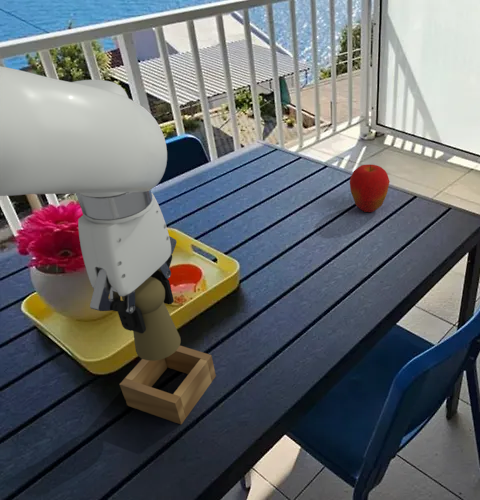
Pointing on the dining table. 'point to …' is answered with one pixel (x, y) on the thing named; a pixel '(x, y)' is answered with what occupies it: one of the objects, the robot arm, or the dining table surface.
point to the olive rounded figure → (154, 323)
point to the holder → (161, 402)
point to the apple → (369, 187)
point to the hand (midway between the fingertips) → (149, 313)
